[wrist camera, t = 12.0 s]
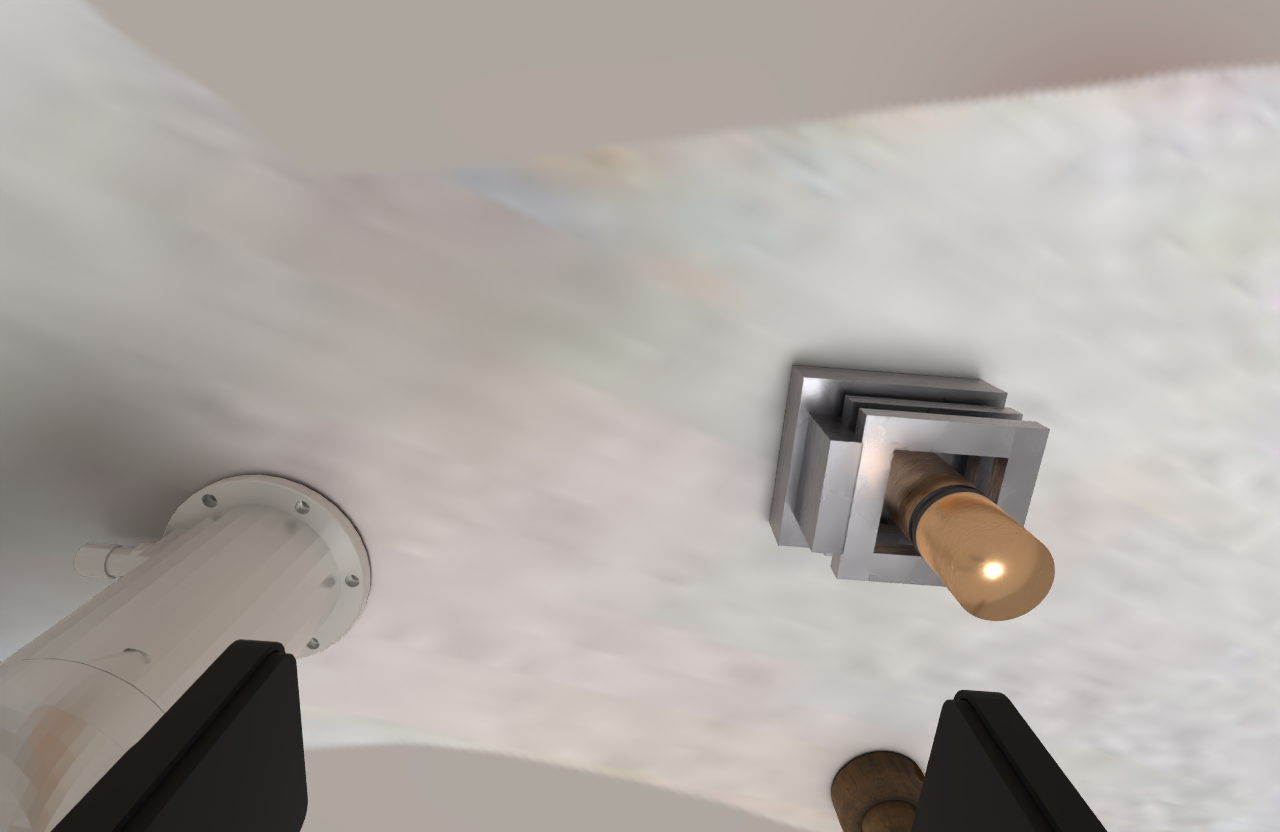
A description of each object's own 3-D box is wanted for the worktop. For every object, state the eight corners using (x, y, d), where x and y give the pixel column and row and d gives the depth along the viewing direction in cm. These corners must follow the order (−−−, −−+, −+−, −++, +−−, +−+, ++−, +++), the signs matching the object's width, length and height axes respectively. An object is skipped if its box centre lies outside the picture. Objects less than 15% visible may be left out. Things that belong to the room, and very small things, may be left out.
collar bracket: (769, 522, 42) (794, 586, 35) (792, 364, 39) (825, 399, 32) (944, 535, 42) (1005, 601, 35) (981, 379, 39) (1055, 417, 32)
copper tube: (874, 437, 37) (965, 529, 27) (947, 443, 37) (1066, 536, 27) (861, 505, 38) (944, 617, 28) (931, 510, 38) (1040, 624, 28)
